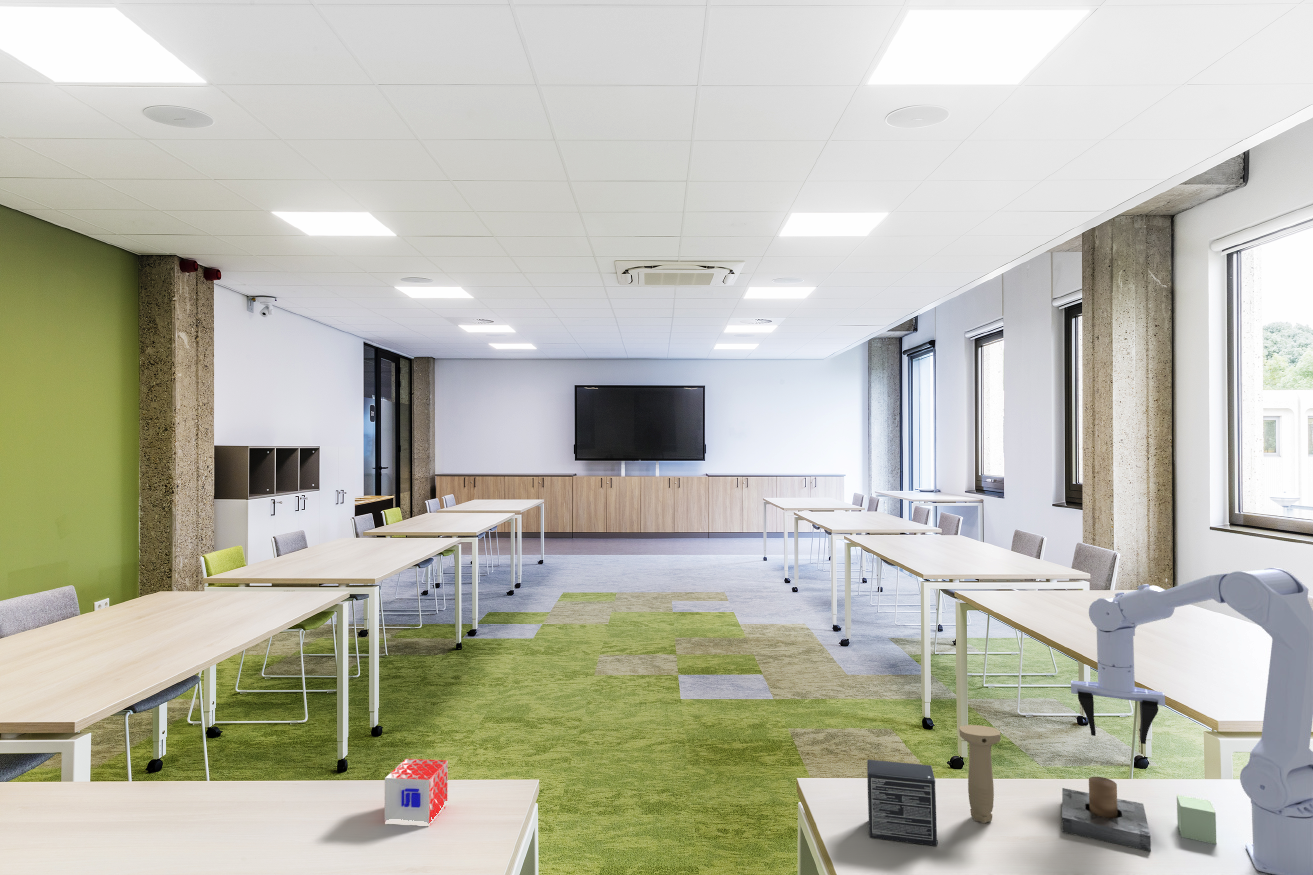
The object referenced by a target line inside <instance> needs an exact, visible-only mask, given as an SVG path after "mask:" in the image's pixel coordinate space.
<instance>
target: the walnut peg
mask: <svg viewBox="0 0 1313 875" xmlns="http://www.w3.org/2000/svg"><path fill="white" fill-rule="evenodd" d="M1088 793H1089V807H1090V812H1091V813H1093V814H1095V815H1097V816H1101V817H1106V818H1111V819H1113V818H1118V812H1117V799H1118V784H1117V783H1116V782H1115V781H1114V780H1112V779H1110V778H1107V777H1104V776H1090V777H1089V778H1088Z"/></svg>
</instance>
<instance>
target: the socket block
mask: <svg viewBox="0 0 1313 875" xmlns="http://www.w3.org/2000/svg"><path fill="white" fill-rule="evenodd" d="M1061 790H1062V792H1061V795H1062V796H1061V806H1062V807H1061V822H1062V823H1061V825H1062V829H1061V830H1062V831H1061V832H1062V833H1066V834H1070V835H1075V836H1079V837H1084V838H1088V839H1092V840H1097V841H1102V842H1106V843H1111V844H1115V845H1119V846H1123V847H1129V848H1132V849H1138V850H1142V851H1147V852H1152V844H1151V843H1152V842H1151V840H1152V839H1151V831H1150V828H1149V824H1148V819H1147V815H1146V810H1145V805H1144V803H1142V802H1137V801H1131V800H1126V799H1121V798H1117V812H1118V818H1113V819H1111V818H1106V817H1101V816H1097V815H1095V814H1093V813H1091V812H1090V807H1089V792H1084V791H1079V790H1075V789H1070V788H1065V787H1062V789H1061Z"/></svg>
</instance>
